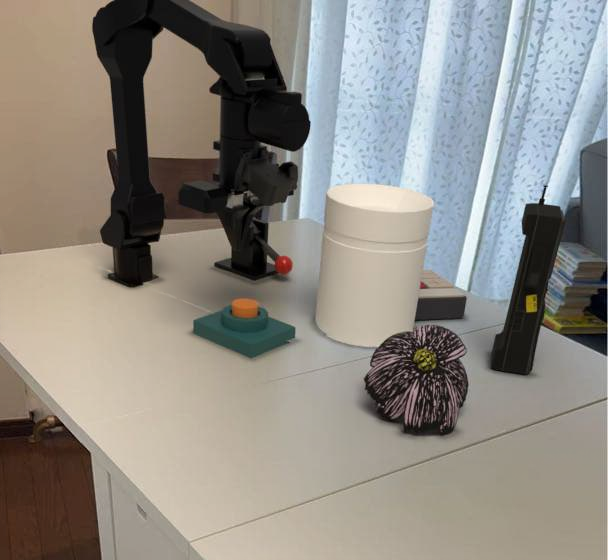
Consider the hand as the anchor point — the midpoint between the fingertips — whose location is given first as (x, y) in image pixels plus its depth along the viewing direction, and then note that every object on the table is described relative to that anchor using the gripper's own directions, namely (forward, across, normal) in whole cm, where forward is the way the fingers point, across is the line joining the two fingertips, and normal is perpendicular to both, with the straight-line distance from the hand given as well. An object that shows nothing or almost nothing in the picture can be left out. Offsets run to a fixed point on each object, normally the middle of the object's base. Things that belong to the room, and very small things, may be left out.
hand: (236, 250), depth 120 cm
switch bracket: (+12, +20, +16) cm, 28 cm away
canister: (+12, +15, -14) cm, 24 cm away
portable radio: (+11, +21, -38) cm, 45 cm away
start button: (+8, -3, -5) cm, 10 cm away
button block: (+12, -3, -5) cm, 13 cm away
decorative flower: (+11, -3, -37) cm, 39 cm away
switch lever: (+8, +20, +12) cm, 25 cm away
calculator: (+12, +32, -14) cm, 37 cm away
